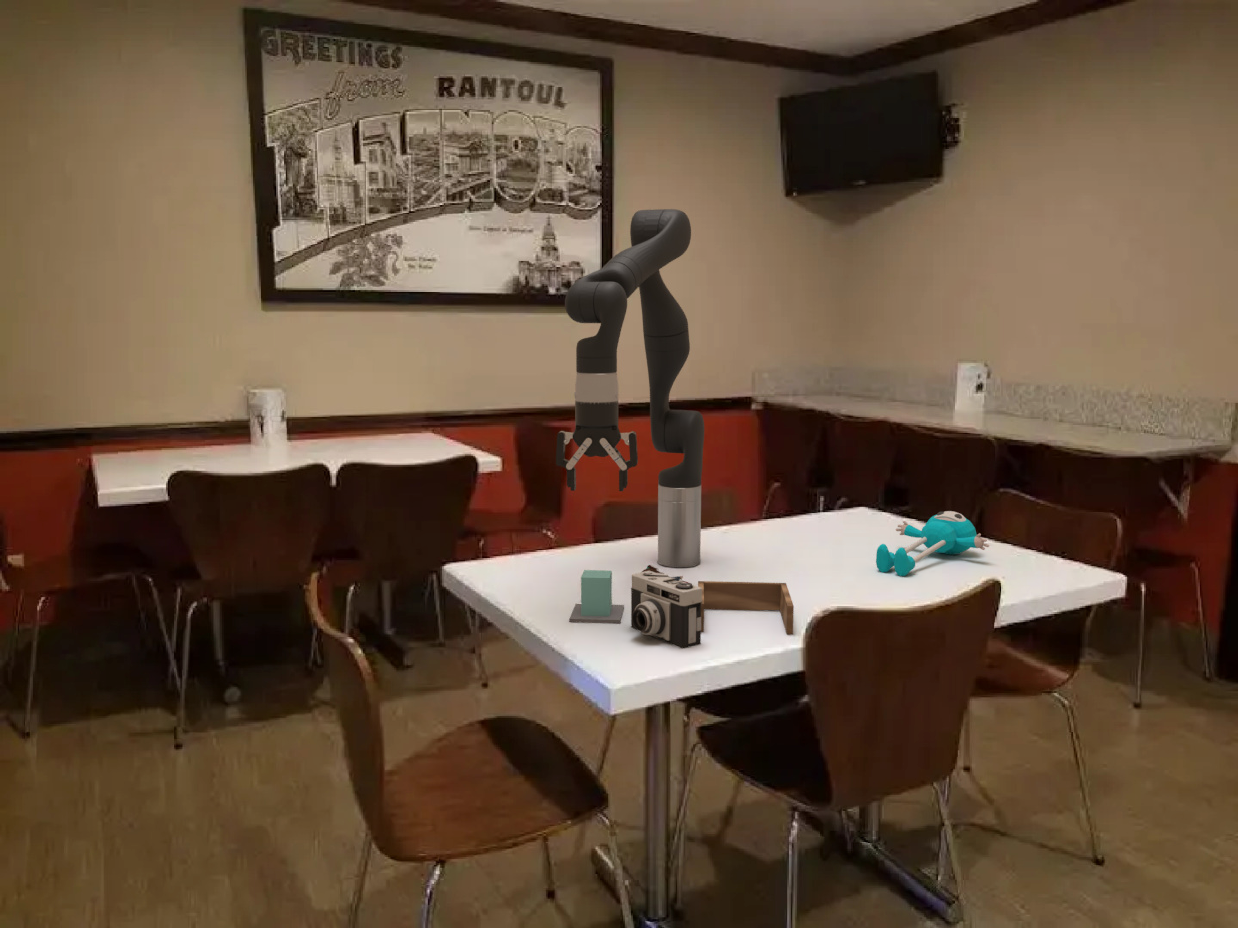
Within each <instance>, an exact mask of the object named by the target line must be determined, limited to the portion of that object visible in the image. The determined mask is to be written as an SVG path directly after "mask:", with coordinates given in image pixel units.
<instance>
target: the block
mask: <svg viewBox="0 0 1238 928" xmlns="http://www.w3.org/2000/svg"><path fill="white" fill-rule="evenodd" d="M612 574H613V571H612V570H606V569H605V570H601V569H600V570H599V569H597V570H596V569H584V570H583V572H582V574H581V576H580V604H581V616H610V612H611V609H612V605H613V603H612V600H613V599H612V598H613V596H612V595H613V593H612V592H613V590H612V589H613V585H612V583H613V580H612V579H613V575H612Z"/></svg>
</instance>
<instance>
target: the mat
mask: <svg viewBox="0 0 1238 928" xmlns="http://www.w3.org/2000/svg"><path fill="white" fill-rule="evenodd" d="M624 611H625V604H612V609H611V612H610V616H581V603H575V604H574V607H573V608H572V612H571V614H570V616H569V619H568V620H569V621H568V622H569V623H590V624H592V623H593V624H594V623H595V624H597V623H598V624H621V623H622V619H623V614H624Z"/></svg>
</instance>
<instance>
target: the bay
mask: <svg viewBox="0 0 1238 928" xmlns="http://www.w3.org/2000/svg"><path fill="white" fill-rule="evenodd" d="M697 586H698V587H701V588H702V603H701V633H704V632H705V610H724V611H725V610H726V611H728V610H730V611H731V610H732V611H760V610H774V611H773V612H776V611H775V610H780V611H779V612H780V614H781V615H780V616H781V619H782V622H783V626H784V628H785V633H786V635H794V608H795V607H794V602H793V600H792V597H791V594H790V592H789V588H788V585H787V583H786V582H756V581H755V582H754V581H751V582H749V581H712V580H711V581H710V580H709V581H708V580H704V581H703V580H702V581H701V580H697Z"/></svg>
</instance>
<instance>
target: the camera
mask: <svg viewBox="0 0 1238 928" xmlns="http://www.w3.org/2000/svg"><path fill="white" fill-rule="evenodd" d="M672 577H673V576H669V574H665V573H664V574H660V573H655V572H652V571H644V572H642V571H640V572H636V573H631V588H630V596H631V597H630V600H631V602H630V603H631V608H630V609H631V610H630V614H631V615H630V624H631V626H630V627H631V628H632V629H634V630H637V631H638V632H640V633H641V634H643V635H646V636H647V635H648V636H651V637H654V638H656V639H659V640H660V641H663V642H665V643H668V644H671V645H673V646H675V647H678V648H679V649H687V648H691V647H694V646H697V645H701V641H702V639H701V638H702V637H701V635H702V632H701V603H702V588H701V587H698V585H695V584H692V583H691V584H689V583H690V582H688V583H685V582H683V581H684V580H683V579H682V580H680V581H676V580H674V579H676V578H672Z"/></svg>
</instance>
